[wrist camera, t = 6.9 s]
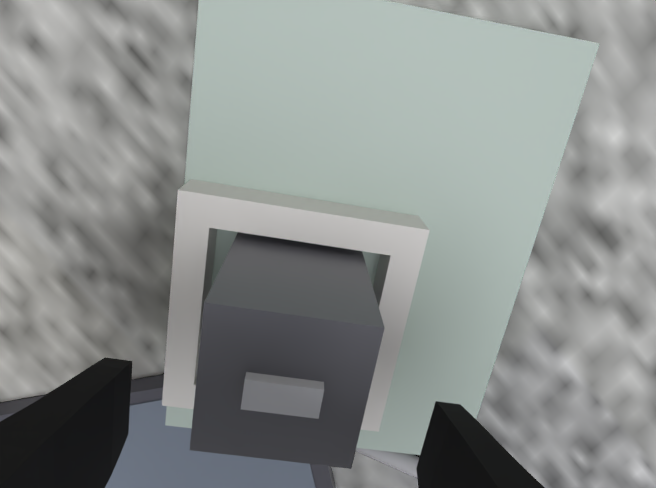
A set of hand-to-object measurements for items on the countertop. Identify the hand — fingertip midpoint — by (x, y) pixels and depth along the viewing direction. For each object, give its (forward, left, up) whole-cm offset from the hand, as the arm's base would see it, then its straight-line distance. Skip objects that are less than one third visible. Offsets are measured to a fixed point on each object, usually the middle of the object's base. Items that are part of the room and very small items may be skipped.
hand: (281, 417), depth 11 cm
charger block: (+1, 0, -6) cm, 6 cm away
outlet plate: (+2, -2, -7) cm, 8 cm away
